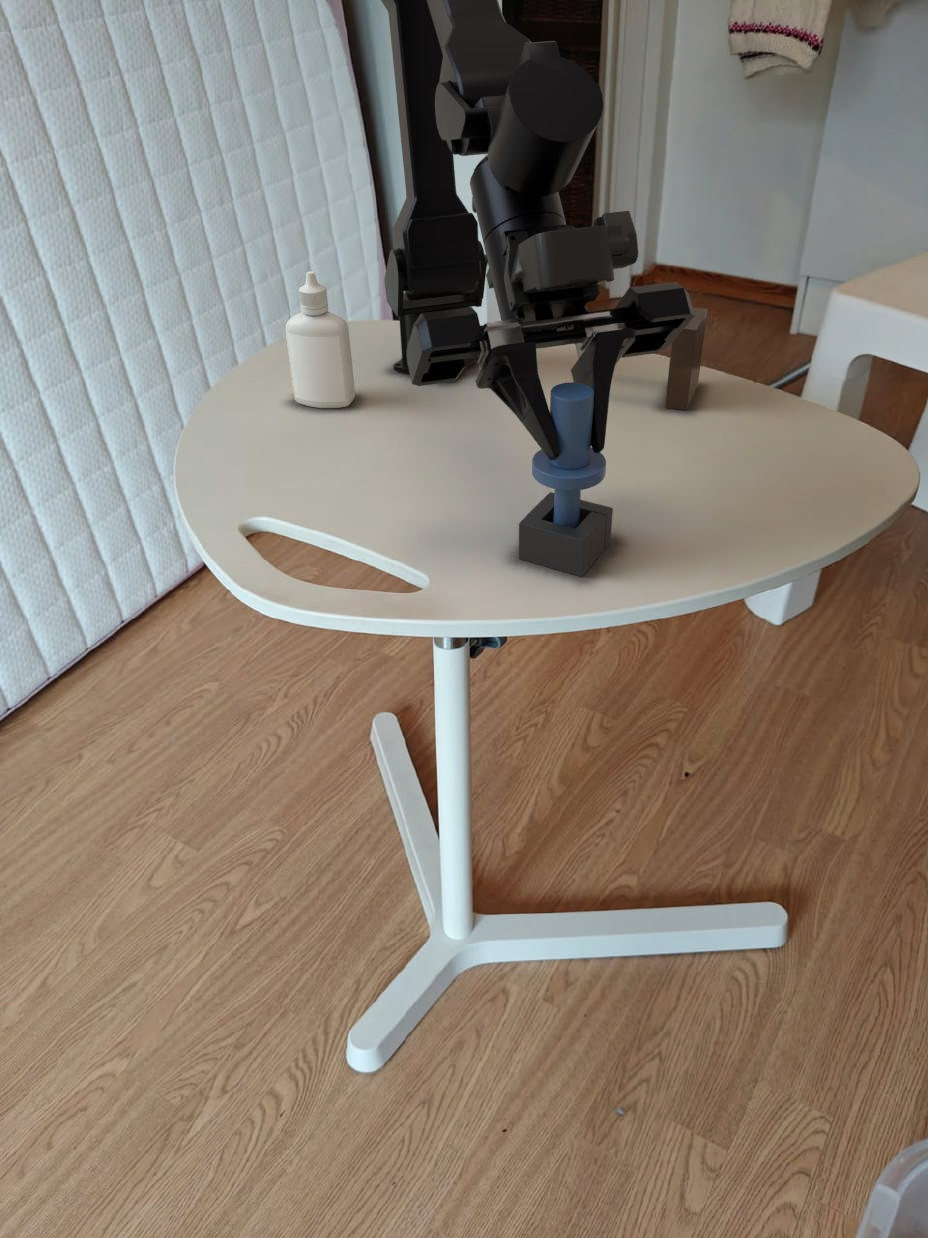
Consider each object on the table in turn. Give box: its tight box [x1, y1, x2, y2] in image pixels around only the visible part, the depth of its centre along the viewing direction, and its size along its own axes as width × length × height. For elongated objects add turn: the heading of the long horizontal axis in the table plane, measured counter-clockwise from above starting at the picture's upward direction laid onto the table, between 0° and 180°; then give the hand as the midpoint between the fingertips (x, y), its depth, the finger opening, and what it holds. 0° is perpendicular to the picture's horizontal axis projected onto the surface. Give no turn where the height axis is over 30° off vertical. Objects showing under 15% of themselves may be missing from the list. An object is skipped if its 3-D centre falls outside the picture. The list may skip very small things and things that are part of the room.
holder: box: [518, 491, 614, 578], centre depth 70 cm, size 5×5×3 cm
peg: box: [531, 381, 607, 529], centre depth 67 cm, size 5×5×12 cm
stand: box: [664, 306, 708, 411], centre depth 90 cm, size 8×6×8 cm
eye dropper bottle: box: [285, 270, 356, 409], centre depth 89 cm, size 4×6×12 cm
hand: (577, 454), depth 65 cm, fingers closed on peg, 3 cm apart
